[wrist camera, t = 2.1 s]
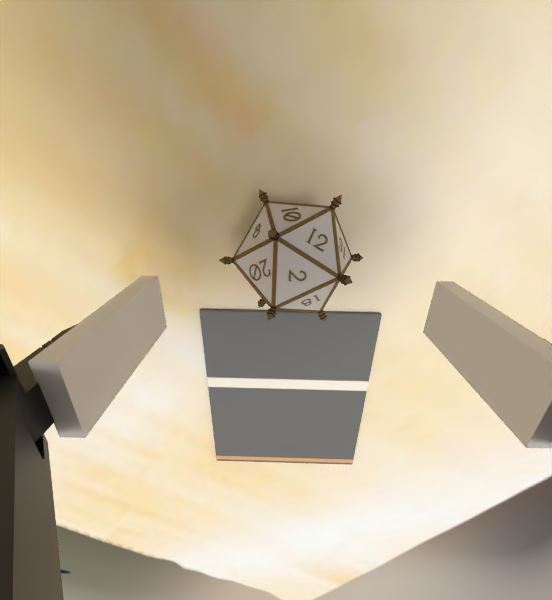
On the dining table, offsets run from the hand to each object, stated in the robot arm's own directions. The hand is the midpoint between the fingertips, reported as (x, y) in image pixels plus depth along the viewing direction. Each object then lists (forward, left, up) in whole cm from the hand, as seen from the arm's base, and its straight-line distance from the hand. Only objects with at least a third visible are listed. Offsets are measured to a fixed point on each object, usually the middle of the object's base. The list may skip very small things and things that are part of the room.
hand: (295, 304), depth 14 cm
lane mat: (+16, 0, -10) cm, 19 cm away
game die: (0, 0, -10) cm, 10 cm away
